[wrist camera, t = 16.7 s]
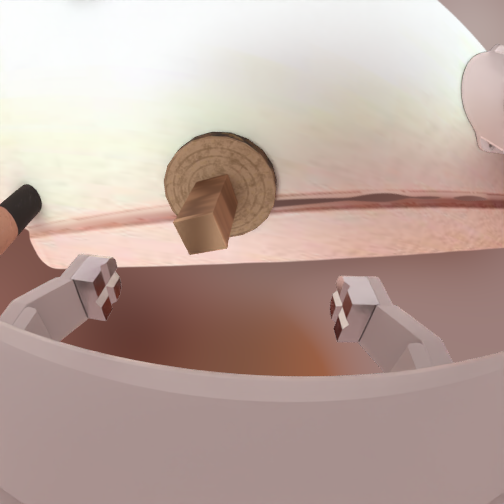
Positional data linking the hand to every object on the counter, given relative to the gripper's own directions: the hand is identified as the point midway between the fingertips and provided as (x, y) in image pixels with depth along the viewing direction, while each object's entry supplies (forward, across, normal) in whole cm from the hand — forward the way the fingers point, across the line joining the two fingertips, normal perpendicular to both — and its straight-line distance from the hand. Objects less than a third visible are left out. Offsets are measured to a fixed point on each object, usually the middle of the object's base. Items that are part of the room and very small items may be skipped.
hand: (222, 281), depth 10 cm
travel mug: (+34, -46, -11) cm, 58 cm away
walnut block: (+29, -4, -8) cm, 30 cm away
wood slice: (+32, -4, -7) cm, 33 cm away
